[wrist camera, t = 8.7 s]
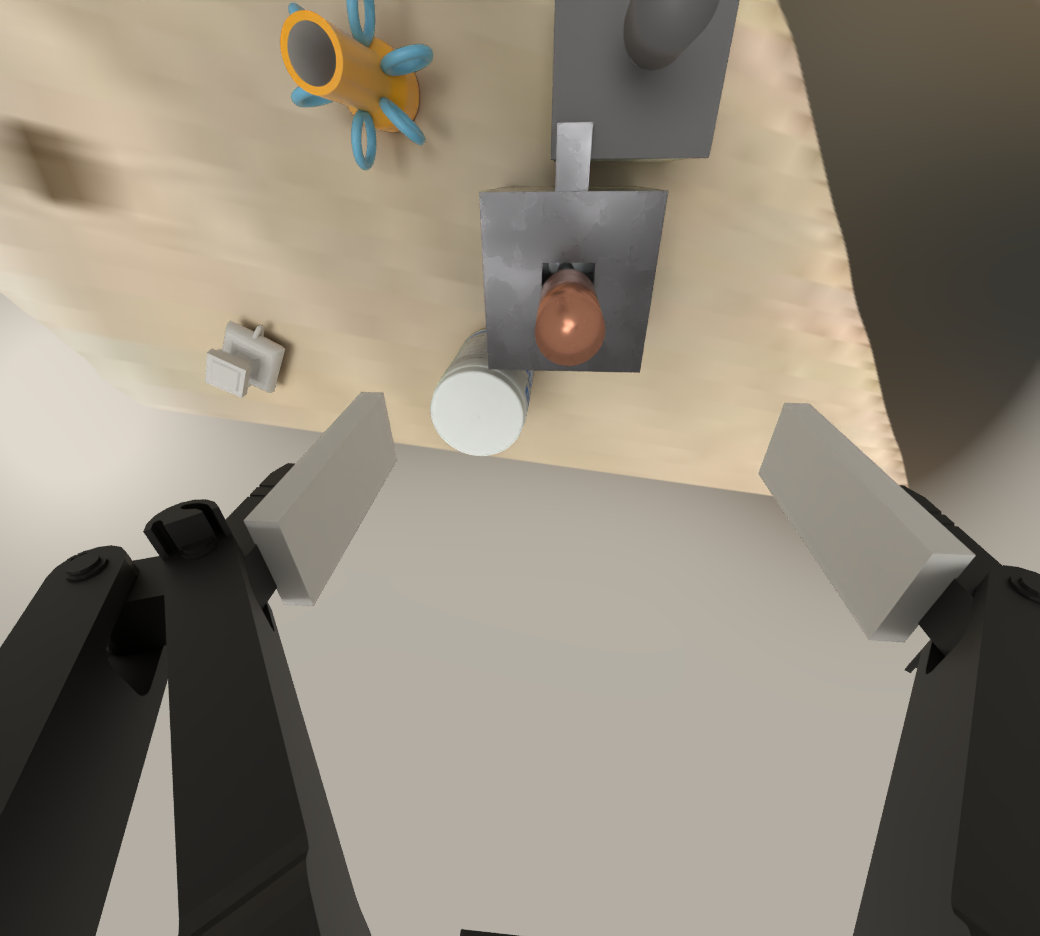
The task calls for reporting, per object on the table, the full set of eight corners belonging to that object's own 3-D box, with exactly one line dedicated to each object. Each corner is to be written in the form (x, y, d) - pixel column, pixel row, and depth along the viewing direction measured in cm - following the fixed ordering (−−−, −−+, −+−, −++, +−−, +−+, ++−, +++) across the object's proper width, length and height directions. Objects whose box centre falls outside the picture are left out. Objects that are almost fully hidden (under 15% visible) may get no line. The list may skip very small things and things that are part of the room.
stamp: (243, 306, 52) (195, 326, 45) (297, 334, 54) (258, 357, 47) (233, 367, 57) (187, 393, 50) (283, 391, 59) (245, 420, 52)
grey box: (502, 138, 41) (475, 121, 28) (640, 136, 40) (679, 117, 27) (507, 318, 51) (488, 369, 38) (618, 320, 50) (639, 372, 37)
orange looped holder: (474, 94, 40) (436, 58, 27) (411, 193, 44) (353, 200, 32) (361, -36, 36) (255, -149, 23) (304, 88, 40) (191, 49, 28)
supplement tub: (547, 378, 55) (544, 436, 42) (485, 410, 58) (465, 472, 46) (508, 309, 50) (492, 352, 38) (443, 348, 53) (408, 398, 41)
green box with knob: (558, -2, 36) (555, -223, 16) (696, -7, 35) (873, -245, 15) (553, 163, 42) (547, 152, 22) (670, 162, 41) (771, 149, 21)
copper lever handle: (545, 247, 39) (535, 295, 24) (589, 247, 39) (609, 295, 23) (544, 293, 42) (534, 365, 26) (585, 294, 41) (601, 366, 26)
